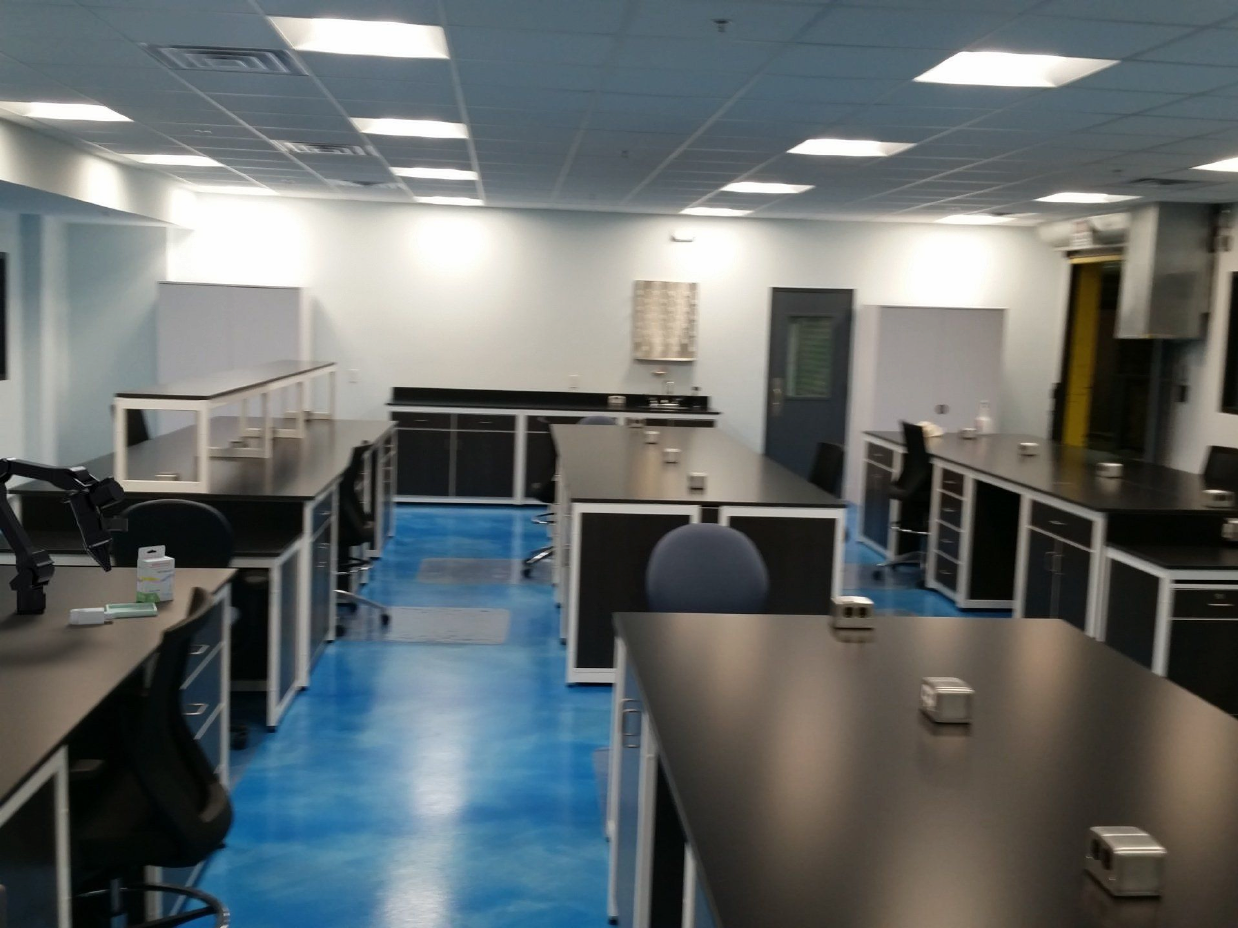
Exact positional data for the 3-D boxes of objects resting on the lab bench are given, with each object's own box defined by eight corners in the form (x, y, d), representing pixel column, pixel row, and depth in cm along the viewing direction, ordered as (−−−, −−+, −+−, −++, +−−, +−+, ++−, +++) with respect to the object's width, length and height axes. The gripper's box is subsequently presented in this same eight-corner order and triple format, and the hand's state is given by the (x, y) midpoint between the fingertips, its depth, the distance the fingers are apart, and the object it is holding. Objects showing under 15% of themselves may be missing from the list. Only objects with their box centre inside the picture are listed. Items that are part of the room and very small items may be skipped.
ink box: (146, 604, 321) (146, 550, 320) (136, 600, 324) (136, 547, 323) (174, 599, 328) (175, 547, 327) (164, 596, 331) (165, 544, 330)
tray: (107, 617, 305) (107, 612, 305) (105, 609, 313) (105, 604, 313) (157, 615, 310) (157, 610, 310) (154, 607, 318) (154, 602, 318)
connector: (70, 624, 296) (70, 612, 296) (70, 621, 300) (70, 609, 299) (114, 622, 301) (114, 610, 301) (113, 619, 304) (113, 607, 304)
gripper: (121, 500, 297) (143, 558, 298) (118, 506, 314) (138, 561, 315) (75, 515, 292) (97, 574, 293) (74, 520, 309) (95, 576, 310)
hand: (108, 571), depth 303 cm, fingers open, 9 cm apart
